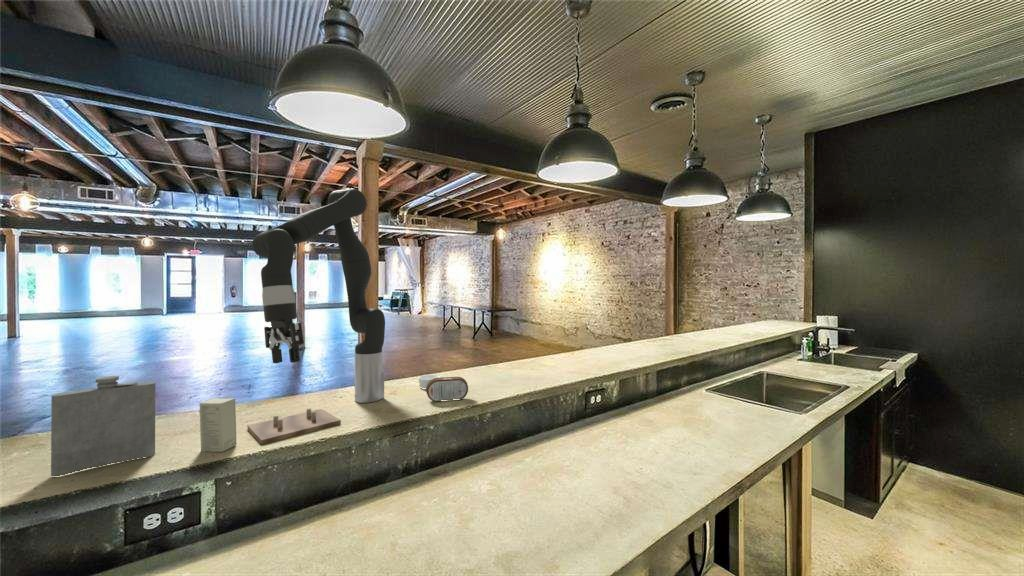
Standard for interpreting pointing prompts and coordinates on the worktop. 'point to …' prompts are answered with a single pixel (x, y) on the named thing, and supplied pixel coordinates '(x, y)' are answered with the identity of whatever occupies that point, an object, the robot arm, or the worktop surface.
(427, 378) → the ramekin
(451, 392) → the tin
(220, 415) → the skincare box
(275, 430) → the pin tray
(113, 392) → the hip flask
